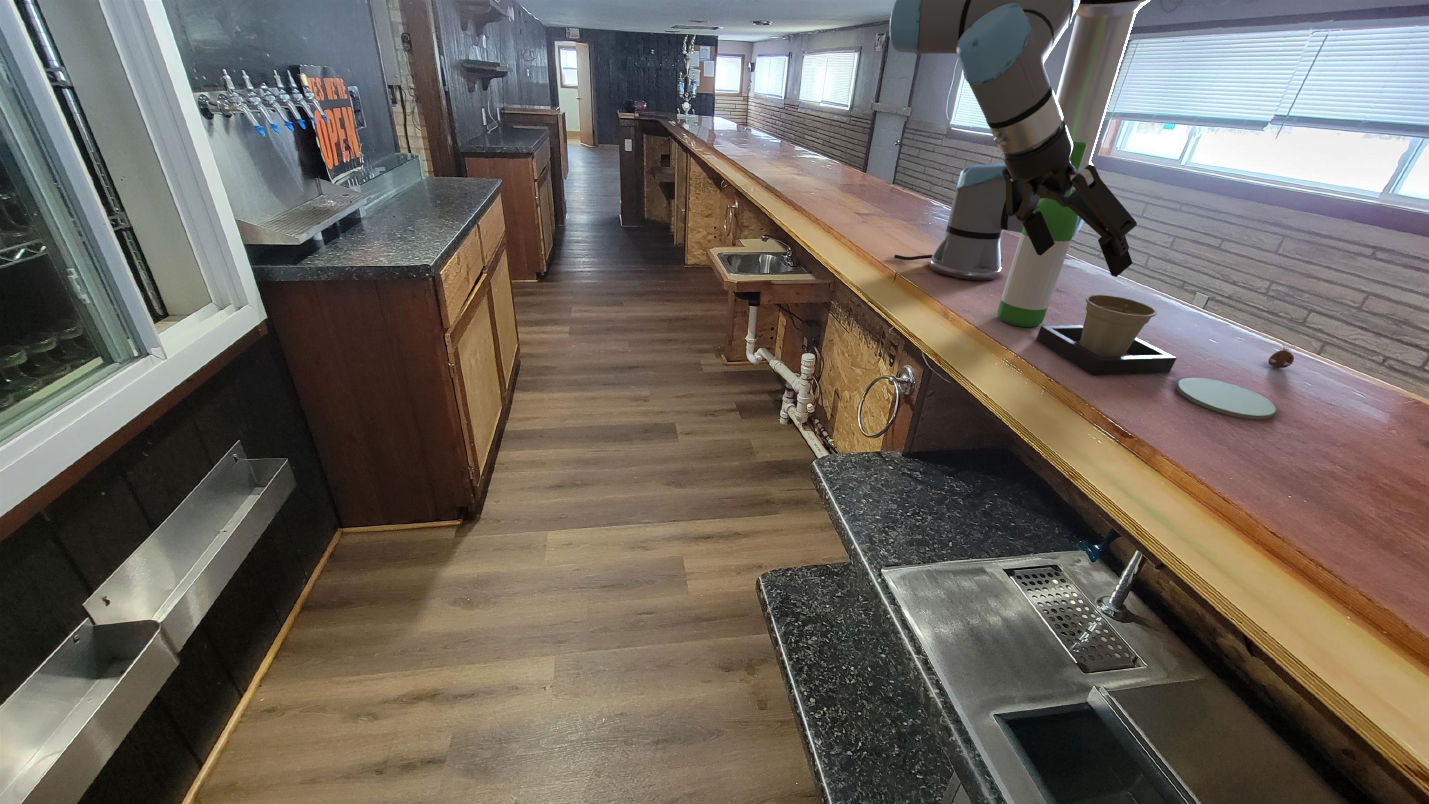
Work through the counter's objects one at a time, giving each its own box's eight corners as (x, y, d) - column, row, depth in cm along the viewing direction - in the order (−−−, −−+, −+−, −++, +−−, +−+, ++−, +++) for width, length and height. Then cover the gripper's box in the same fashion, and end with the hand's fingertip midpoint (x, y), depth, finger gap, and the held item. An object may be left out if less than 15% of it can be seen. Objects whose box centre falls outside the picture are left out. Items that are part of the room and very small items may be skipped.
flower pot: (1114, 345, 95) (1135, 296, 91) (1146, 370, 87) (1170, 317, 83) (1057, 341, 96) (1075, 292, 92) (1083, 365, 88) (1104, 312, 83)
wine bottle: (994, 323, 102) (1050, 142, 87) (996, 310, 108) (1048, 139, 93) (1042, 332, 99) (1108, 146, 84) (1041, 318, 105) (1102, 143, 90)
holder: (1093, 375, 85) (1099, 360, 83) (1036, 339, 96) (1040, 325, 95) (1169, 372, 87) (1177, 357, 85) (1105, 337, 98) (1110, 324, 97)
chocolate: (1272, 370, 89) (1286, 347, 87) (1262, 364, 91) (1275, 341, 89) (1292, 372, 89) (1306, 348, 87) (1281, 365, 91) (1295, 343, 89)
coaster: (1174, 400, 79) (1176, 396, 78) (1177, 374, 86) (1179, 370, 86) (1276, 428, 73) (1279, 424, 73) (1271, 397, 81) (1273, 394, 80)
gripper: (948, 152, 83) (1001, 258, 94) (1087, 164, 62) (1136, 300, 72) (989, 116, 82) (1038, 226, 93) (1144, 115, 61) (1185, 259, 71)
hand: (1081, 259), depth 82 cm, fingers open, 13 cm apart
